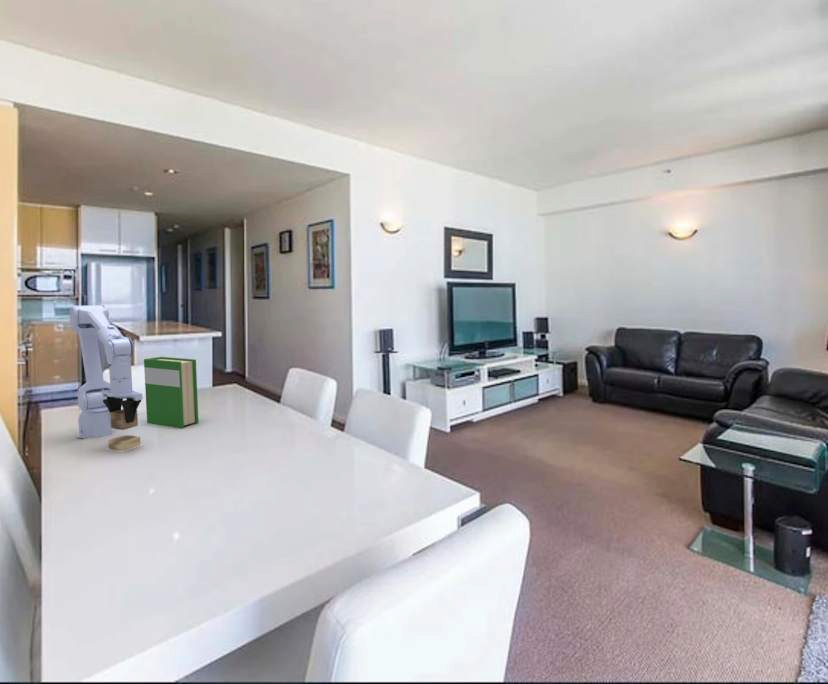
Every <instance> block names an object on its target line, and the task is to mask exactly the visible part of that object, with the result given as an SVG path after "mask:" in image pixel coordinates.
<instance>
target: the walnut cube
mask: <svg viewBox="0 0 828 684" xmlns="http://www.w3.org/2000/svg"><path fill="white" fill-rule="evenodd" d="M110 415H111V428H112V430H113V429H115V430H119V431H125V430H128V429H132V428H135V427H138V426H139V423H138V409H137V410H136V414H135V418H134V422H131V423H126V420H125V413H124V409H123V408H121V410H118V411H114V412H110Z"/></svg>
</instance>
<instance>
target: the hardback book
mask: <svg viewBox="0 0 828 684" xmlns="http://www.w3.org/2000/svg"><path fill="white" fill-rule="evenodd" d="M143 370H144V386H145V388H144V389H145V405H146V406H145V407H146V409H145V410H146V423H147V424H150V425H155V426H156V425H157V426H163V427H169V428H175V429H184V428H185V426H187V425H190V424H192V425H199V403H198V382H197V381H198V379H197V377H198V376H197V374H198V373H197V360H196V359H194V358H182V357H181V358H179V357H167V356H158V357H151V358H144V359H143Z"/></svg>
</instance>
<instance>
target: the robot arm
mask: <svg viewBox="0 0 828 684" xmlns="http://www.w3.org/2000/svg"><path fill="white" fill-rule="evenodd" d="M68 316H69V321H70V322H69V323H70V327H71V331H72V332H74V333H76V334H77V335H78V339H79V344H80V349H81V356H82V357H81V358H82V362H83V368H84V375H85V381H86V382H85V383H84V384H83V385H81V386H80V387H79V388H78V390H77V404H78V405H77V406H78V407H79V410H80V411H81V412H80V413H79V416H78V433H79V435H77V436H76V438H79V439H88V438H93V439H94V438H101V437H106V436H110V435H112V433H113V429H112V428H111V415H110V412H114V411H118V410H122V409H124V413H125V420H126V423H131V422H134V418H135V414H136V410H137V411H138V408H139V405H140V404H141V402H142V400H143V393H142V392H138V391H134V390H133V378H132V361H131V360H132V358H131V357H132V356H133V355H134V349H135V346H134V343H133V340H132V339H131V337H126V336H123V334H122V333H121V331H120V330H119V329H118V327H116V326H115V325H114V324H110V322H109V319H110V313H109V309H108V306H106V304H99V305H76V304H75V305H74V304H72V306H70V309H69V315H68ZM97 337H98V338H97ZM98 339H99V341H100V342H101V343H102V345H103V347H104V354H105V356H106V357H105V358H106V363H107V364H108V369H109V370H108V373H109V382H108V381H106V380H104V375H103V369H102V363H101V357H100V350H99V344H98Z"/></svg>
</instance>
